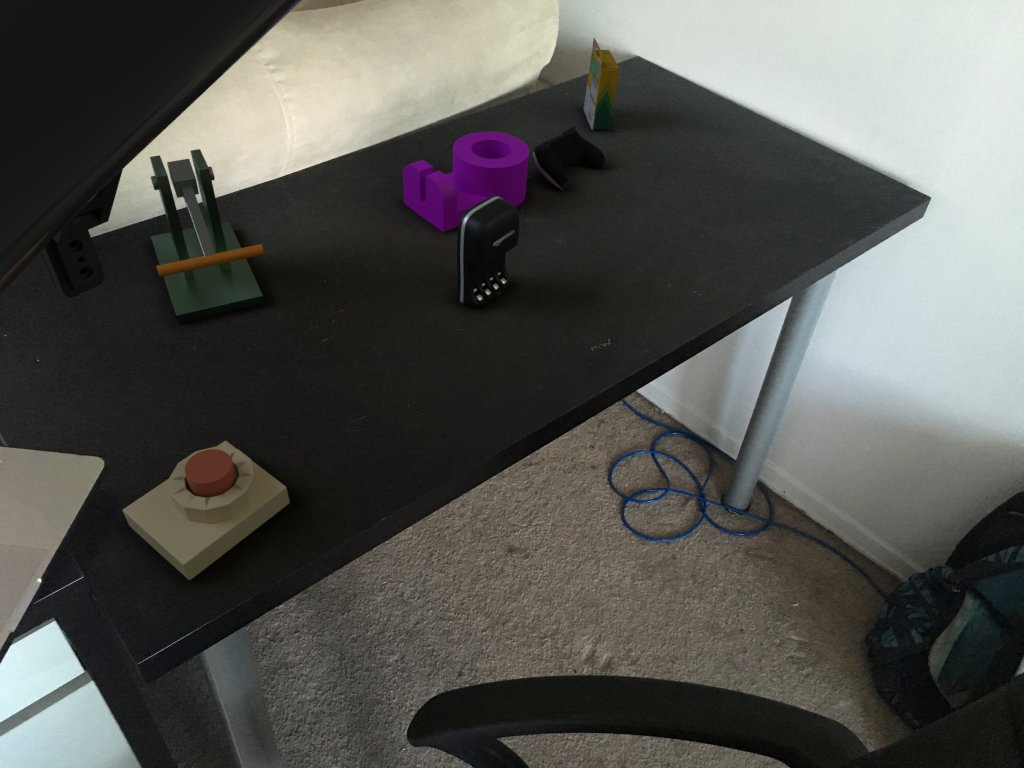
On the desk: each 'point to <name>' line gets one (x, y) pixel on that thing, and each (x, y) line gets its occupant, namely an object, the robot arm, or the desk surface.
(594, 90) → the crayon box
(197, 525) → the stop housing
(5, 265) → the robot arm
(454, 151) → the purple bearing bracket
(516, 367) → the desk surface
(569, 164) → the gaming controller
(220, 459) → the stop button
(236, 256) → the lever
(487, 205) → the battery charger
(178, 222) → the switch bracket
